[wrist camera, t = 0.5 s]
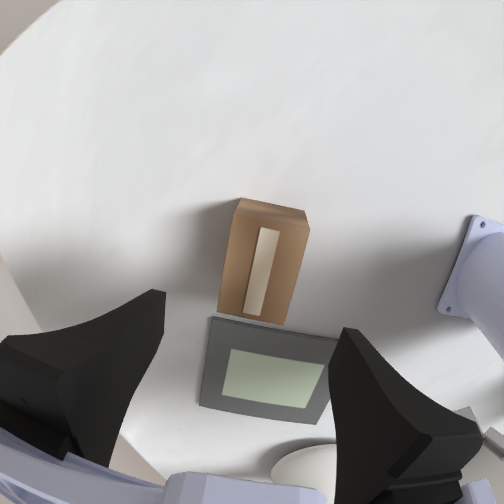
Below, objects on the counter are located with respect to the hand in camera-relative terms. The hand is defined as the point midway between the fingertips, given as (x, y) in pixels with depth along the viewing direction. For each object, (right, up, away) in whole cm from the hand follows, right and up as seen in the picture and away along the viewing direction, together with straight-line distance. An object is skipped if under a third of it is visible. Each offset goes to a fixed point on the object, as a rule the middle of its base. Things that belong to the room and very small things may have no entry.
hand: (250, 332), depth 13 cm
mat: (+2, -7, +13) cm, 15 cm away
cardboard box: (+1, +3, +9) cm, 10 cm away
